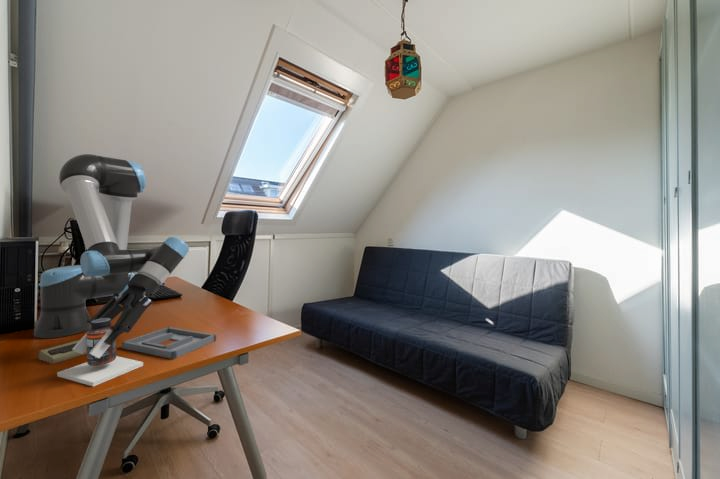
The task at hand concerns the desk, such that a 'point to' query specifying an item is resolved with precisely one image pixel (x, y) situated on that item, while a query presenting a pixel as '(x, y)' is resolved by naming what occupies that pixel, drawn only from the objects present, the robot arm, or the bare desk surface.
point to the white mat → (99, 371)
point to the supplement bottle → (94, 337)
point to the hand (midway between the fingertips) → (85, 353)
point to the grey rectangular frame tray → (183, 344)
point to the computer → (59, 353)
